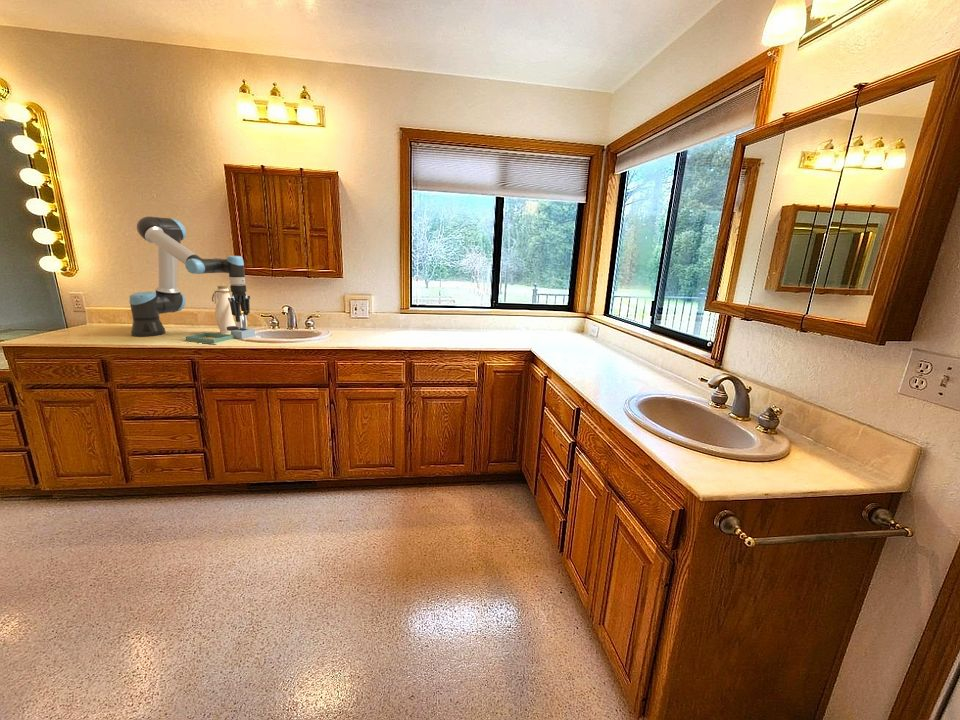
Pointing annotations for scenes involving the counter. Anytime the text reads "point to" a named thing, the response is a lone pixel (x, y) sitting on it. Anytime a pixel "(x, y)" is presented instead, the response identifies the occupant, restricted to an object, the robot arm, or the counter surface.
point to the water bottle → (223, 309)
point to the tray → (207, 341)
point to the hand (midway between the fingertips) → (242, 326)
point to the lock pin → (242, 321)
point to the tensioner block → (241, 332)
